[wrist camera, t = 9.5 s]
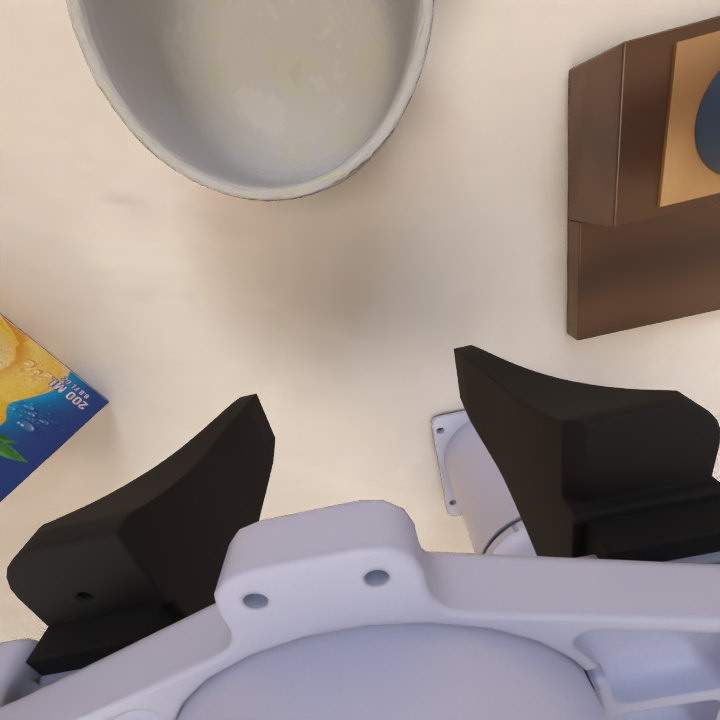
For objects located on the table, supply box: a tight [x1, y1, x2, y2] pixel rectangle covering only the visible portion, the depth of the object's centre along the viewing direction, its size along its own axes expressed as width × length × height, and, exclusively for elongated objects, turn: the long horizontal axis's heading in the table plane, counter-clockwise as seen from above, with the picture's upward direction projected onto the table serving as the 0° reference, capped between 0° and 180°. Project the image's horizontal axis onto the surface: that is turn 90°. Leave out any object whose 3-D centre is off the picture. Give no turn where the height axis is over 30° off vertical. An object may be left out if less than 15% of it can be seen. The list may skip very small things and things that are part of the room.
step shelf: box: [568, 16, 720, 340], centre depth 19 cm, size 14×11×4 cm
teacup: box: [66, 0, 434, 201], centre depth 14 cm, size 14×11×8 cm
